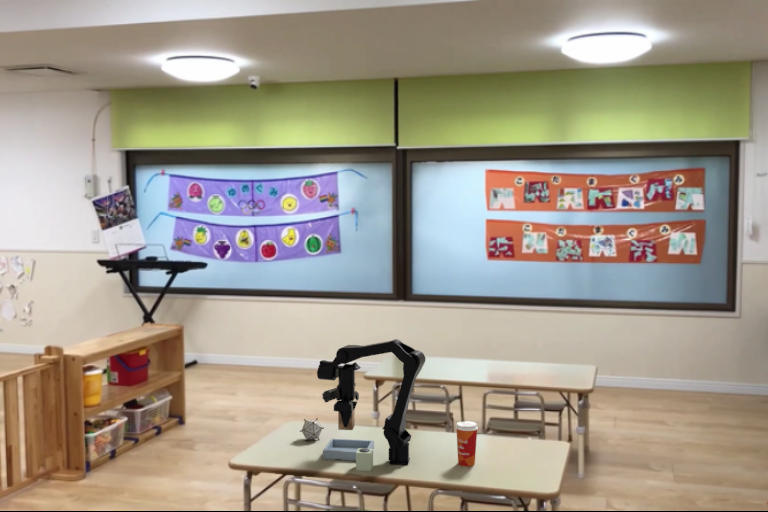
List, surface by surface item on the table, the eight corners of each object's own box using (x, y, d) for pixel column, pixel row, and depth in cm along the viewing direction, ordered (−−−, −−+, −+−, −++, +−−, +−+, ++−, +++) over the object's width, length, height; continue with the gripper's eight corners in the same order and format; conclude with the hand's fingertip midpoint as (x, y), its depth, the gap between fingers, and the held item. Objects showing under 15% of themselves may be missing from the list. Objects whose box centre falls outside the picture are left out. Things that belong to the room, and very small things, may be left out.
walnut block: (354, 426, 271) (354, 409, 271) (352, 430, 266) (352, 412, 266) (340, 425, 272) (340, 408, 271) (338, 429, 267) (338, 412, 266)
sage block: (373, 466, 259) (373, 448, 258) (370, 471, 254) (370, 452, 253) (358, 465, 259) (358, 447, 259) (355, 470, 254) (355, 452, 254)
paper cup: (451, 462, 263) (451, 422, 262) (470, 459, 266) (470, 419, 265) (462, 469, 256) (462, 428, 255) (482, 466, 259) (482, 425, 258)
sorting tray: (374, 448, 277) (374, 440, 277) (367, 461, 263) (367, 452, 263) (331, 446, 279) (331, 438, 279) (322, 458, 266) (322, 450, 265)
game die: (315, 450, 286) (318, 434, 280) (294, 441, 288) (298, 425, 282) (324, 433, 293) (328, 417, 287) (305, 424, 295) (308, 408, 288)
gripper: (328, 375, 278) (329, 417, 279) (319, 386, 260) (319, 431, 261) (359, 375, 277) (359, 418, 278) (351, 387, 258) (351, 432, 259)
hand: (346, 424), depth 269 cm, fingers closed on walnut block, 5 cm apart
